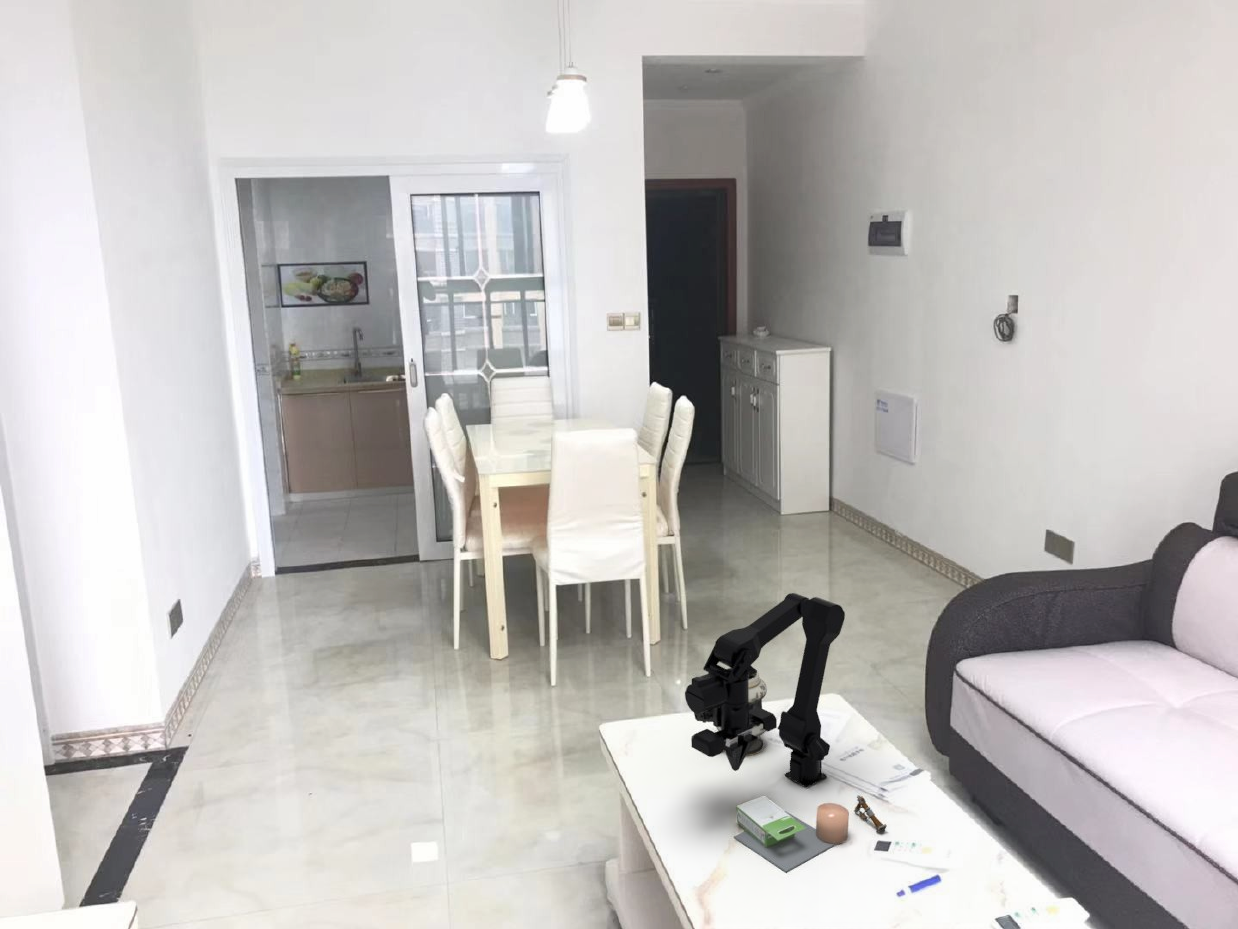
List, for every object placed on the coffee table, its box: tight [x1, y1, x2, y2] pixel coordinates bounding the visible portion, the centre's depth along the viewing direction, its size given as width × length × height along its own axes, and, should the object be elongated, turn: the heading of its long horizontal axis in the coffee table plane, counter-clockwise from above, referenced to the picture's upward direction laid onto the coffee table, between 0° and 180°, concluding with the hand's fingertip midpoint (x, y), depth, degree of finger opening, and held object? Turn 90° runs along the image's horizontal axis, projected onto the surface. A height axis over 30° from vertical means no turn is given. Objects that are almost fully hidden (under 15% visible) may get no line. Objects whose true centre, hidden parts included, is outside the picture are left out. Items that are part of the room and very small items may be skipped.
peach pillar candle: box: [815, 802, 850, 845], centre depth 188 cm, size 6×6×5 cm
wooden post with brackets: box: [853, 795, 888, 834], centre depth 192 cm, size 2×8×4 cm, turn 27°
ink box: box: [736, 795, 806, 847], centre depth 189 cm, size 7×4×13 cm
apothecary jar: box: [715, 666, 768, 757], centre depth 222 cm, size 12×12×18 cm
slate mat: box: [733, 810, 838, 874], centre depth 187 cm, size 14×14×1 cm
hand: (735, 769), depth 196 cm, fingers closed
